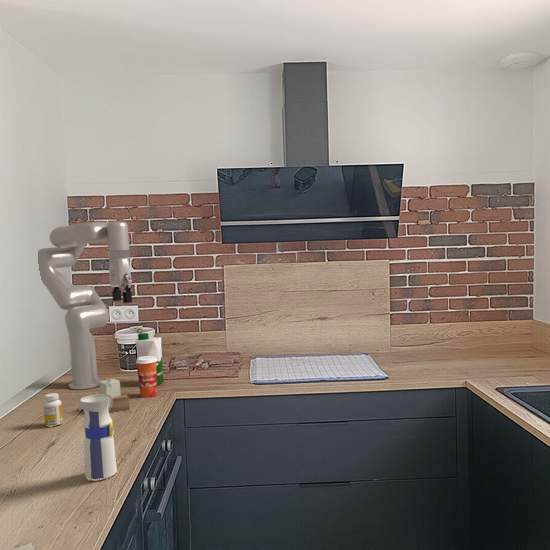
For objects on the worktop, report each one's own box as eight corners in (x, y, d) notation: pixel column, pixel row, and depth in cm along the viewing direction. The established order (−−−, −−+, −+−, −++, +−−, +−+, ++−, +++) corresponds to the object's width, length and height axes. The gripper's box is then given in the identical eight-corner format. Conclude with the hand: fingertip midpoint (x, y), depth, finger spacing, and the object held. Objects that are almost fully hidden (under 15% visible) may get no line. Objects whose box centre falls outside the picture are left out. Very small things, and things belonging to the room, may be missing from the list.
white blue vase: (122, 466, 157) (115, 370, 155) (114, 480, 149) (107, 378, 147) (89, 468, 157) (82, 372, 155) (80, 482, 149) (72, 380, 147)
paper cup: (138, 399, 221) (135, 360, 220) (137, 394, 228) (134, 356, 227) (160, 396, 223) (158, 358, 222) (158, 391, 230) (156, 354, 229)
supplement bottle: (57, 421, 200) (54, 391, 199) (66, 423, 196) (64, 393, 195) (41, 425, 195) (39, 395, 195) (51, 428, 192) (48, 397, 191)
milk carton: (145, 381, 247) (142, 332, 246) (166, 381, 246) (163, 331, 244) (136, 387, 239) (132, 335, 237) (158, 387, 237) (154, 335, 236)
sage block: (100, 396, 210) (99, 381, 210) (114, 393, 213) (113, 378, 213) (106, 398, 206) (105, 384, 206) (120, 395, 209) (119, 381, 209)
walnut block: (94, 409, 212) (93, 394, 212) (123, 404, 217) (122, 390, 216) (99, 416, 203) (98, 401, 203) (129, 411, 208) (128, 396, 207)
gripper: (100, 255, 231) (104, 301, 233) (118, 256, 217) (121, 304, 219) (119, 254, 236) (122, 299, 237) (138, 254, 222) (141, 302, 223)
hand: (122, 301), depth 228 cm, fingers open, 9 cm apart
